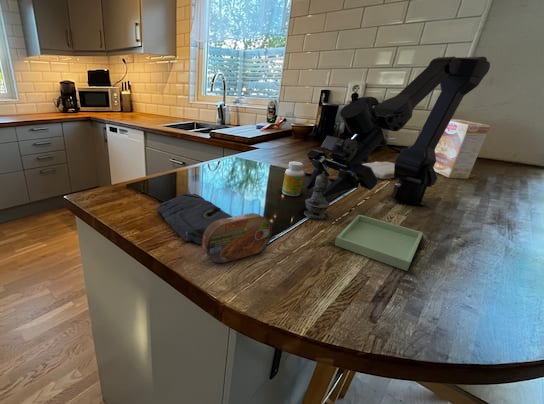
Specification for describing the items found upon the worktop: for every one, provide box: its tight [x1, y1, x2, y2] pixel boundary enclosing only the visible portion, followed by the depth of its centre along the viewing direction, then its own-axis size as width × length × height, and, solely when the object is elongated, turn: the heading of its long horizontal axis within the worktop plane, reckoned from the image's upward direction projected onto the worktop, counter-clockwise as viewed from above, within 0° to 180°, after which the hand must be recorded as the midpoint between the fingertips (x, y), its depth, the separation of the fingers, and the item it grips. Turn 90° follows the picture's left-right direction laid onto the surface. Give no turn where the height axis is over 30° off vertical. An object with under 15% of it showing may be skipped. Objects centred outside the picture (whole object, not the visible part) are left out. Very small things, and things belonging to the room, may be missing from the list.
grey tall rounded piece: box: [303, 172, 331, 220], centre depth 76 cm, size 6×6×12 cm
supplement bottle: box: [281, 161, 305, 197], centre depth 91 cm, size 5×5×10 cm
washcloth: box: [361, 161, 396, 180], centre depth 113 cm, size 12×18×3 cm, turn 114°
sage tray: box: [334, 214, 424, 272], centre depth 65 cm, size 16×13×2 cm
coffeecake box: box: [433, 118, 491, 180], centre depth 112 cm, size 15×7×20 cm, turn 172°
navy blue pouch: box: [156, 193, 233, 246], centre depth 73 cm, size 15×22×5 cm
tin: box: [201, 212, 273, 264], centre depth 59 cm, size 15×3×8 cm, turn 114°
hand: (315, 192), depth 75 cm, fingers open, 5 cm apart
